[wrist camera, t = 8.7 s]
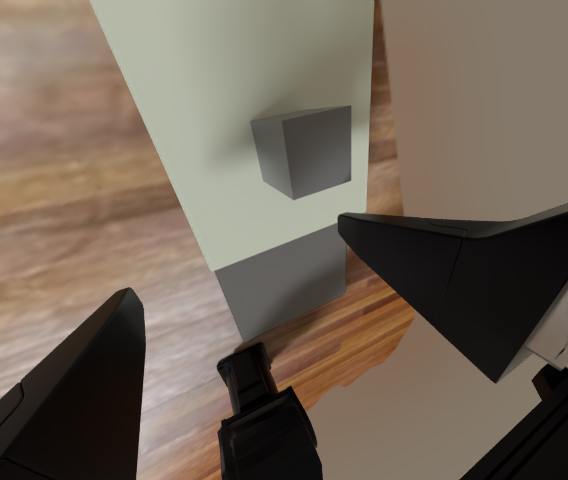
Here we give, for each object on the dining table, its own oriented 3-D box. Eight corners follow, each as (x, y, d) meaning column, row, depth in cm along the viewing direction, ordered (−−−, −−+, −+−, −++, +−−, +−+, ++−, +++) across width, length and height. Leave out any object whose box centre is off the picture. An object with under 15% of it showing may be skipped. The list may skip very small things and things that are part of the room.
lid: (359, 208, 20) (409, 231, 16) (209, 266, 16) (222, 316, 12) (364, -10, 13) (461, -76, 9) (92, 3, 9) (21, -104, 5)
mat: (344, 291, 33) (345, 293, 33) (243, 340, 29) (244, 342, 28) (343, 190, 25) (346, 190, 24) (200, 237, 20) (201, 238, 20)
